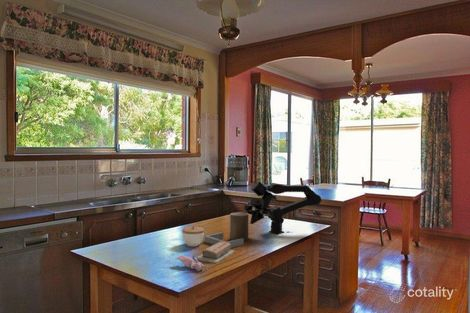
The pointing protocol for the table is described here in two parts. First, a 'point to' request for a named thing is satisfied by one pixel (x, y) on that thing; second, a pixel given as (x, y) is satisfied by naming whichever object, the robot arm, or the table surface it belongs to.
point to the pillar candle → (239, 226)
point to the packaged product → (216, 252)
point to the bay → (216, 238)
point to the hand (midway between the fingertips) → (251, 223)
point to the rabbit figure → (192, 262)
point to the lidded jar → (193, 235)
